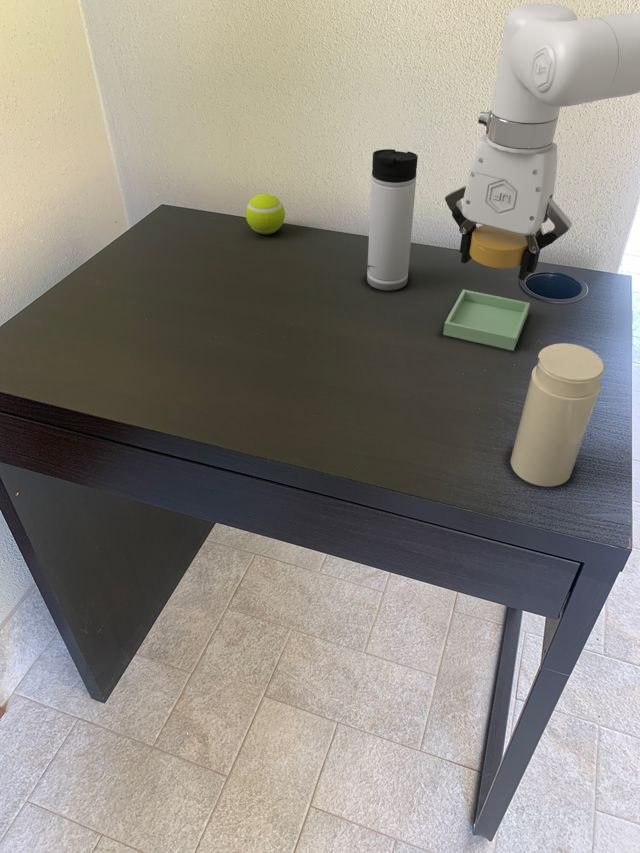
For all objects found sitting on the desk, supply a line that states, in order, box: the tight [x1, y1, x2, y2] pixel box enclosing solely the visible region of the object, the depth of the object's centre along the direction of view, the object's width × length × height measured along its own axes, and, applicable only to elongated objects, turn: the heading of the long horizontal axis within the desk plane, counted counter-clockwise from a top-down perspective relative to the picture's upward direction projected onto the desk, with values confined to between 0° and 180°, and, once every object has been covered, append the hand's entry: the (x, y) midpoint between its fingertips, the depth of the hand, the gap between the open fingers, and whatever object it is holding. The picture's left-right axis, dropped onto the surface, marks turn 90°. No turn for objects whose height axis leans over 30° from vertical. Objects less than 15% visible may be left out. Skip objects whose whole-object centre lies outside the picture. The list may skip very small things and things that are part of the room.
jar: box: [510, 342, 605, 488], centre depth 71 cm, size 7×7×14 cm
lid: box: [470, 225, 528, 269], centre depth 89 cm, size 8×8×3 cm
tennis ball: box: [245, 193, 286, 235], centre depth 117 cm, size 7×7×7 cm
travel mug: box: [366, 148, 419, 292], centre depth 99 cm, size 6×7×20 cm
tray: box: [442, 289, 531, 352], centre depth 96 cm, size 10×10×2 cm
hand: (496, 266), depth 91 cm, fingers closed on lid, 7 cm apart
